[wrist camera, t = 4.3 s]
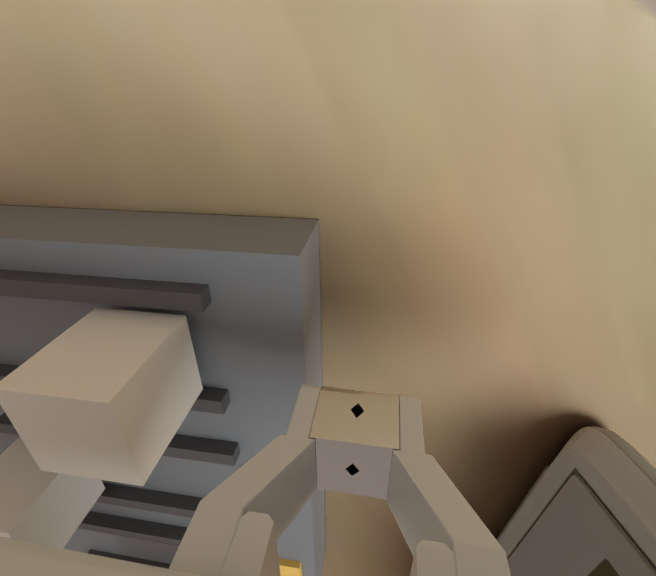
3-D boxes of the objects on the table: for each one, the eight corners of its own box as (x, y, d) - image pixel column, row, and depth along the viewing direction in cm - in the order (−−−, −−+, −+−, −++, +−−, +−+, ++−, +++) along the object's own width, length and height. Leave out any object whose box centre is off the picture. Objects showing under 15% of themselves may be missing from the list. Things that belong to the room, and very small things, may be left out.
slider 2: (83, 444, 15) (8, 533, 12) (105, 488, 17) (42, 577, 14) (20, 435, 16) (-67, 519, 13) (47, 478, 17) (-26, 563, 14)
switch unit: (318, 219, 13) (294, 265, 10) (325, 546, 23) (314, 619, 20) (-76, 201, 15) (-201, 234, 12) (92, 507, 25) (50, 567, 22)
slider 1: (185, 315, 11) (108, 403, 8) (203, 388, 13) (142, 486, 10) (95, 307, 12) (-10, 388, 9) (122, 379, 13) (40, 470, 10)
